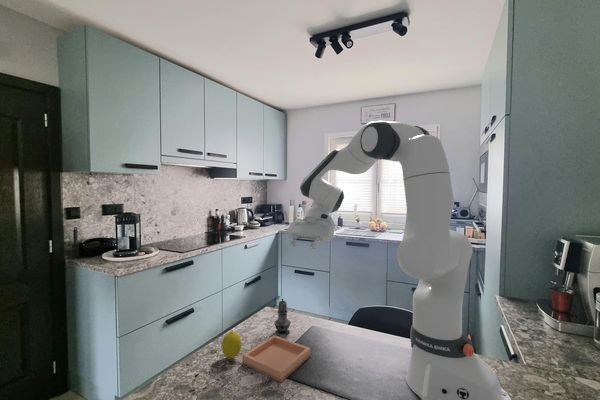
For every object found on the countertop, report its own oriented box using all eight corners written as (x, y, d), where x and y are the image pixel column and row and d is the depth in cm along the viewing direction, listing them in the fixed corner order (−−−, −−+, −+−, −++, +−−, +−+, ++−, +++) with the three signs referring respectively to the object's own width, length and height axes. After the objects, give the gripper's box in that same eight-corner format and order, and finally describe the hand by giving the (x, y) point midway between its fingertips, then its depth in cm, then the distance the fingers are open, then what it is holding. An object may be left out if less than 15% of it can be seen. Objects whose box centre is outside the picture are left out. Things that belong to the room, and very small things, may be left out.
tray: (310, 356, 81) (310, 348, 81) (281, 382, 69) (281, 372, 69) (274, 342, 89) (274, 335, 89) (242, 363, 77) (242, 354, 77)
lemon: (236, 365, 76) (236, 336, 76) (218, 362, 78) (218, 334, 78) (244, 354, 82) (244, 327, 82) (227, 352, 83) (227, 326, 83)
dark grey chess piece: (290, 336, 93) (290, 301, 93) (273, 336, 93) (273, 301, 93) (291, 328, 98) (291, 295, 99) (275, 328, 99) (275, 295, 99)
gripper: (292, 214, 118) (277, 239, 110) (334, 216, 107) (321, 244, 99) (297, 223, 122) (284, 248, 114) (339, 226, 110) (327, 254, 102)
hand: (302, 246), depth 106 cm, fingers open, 8 cm apart
